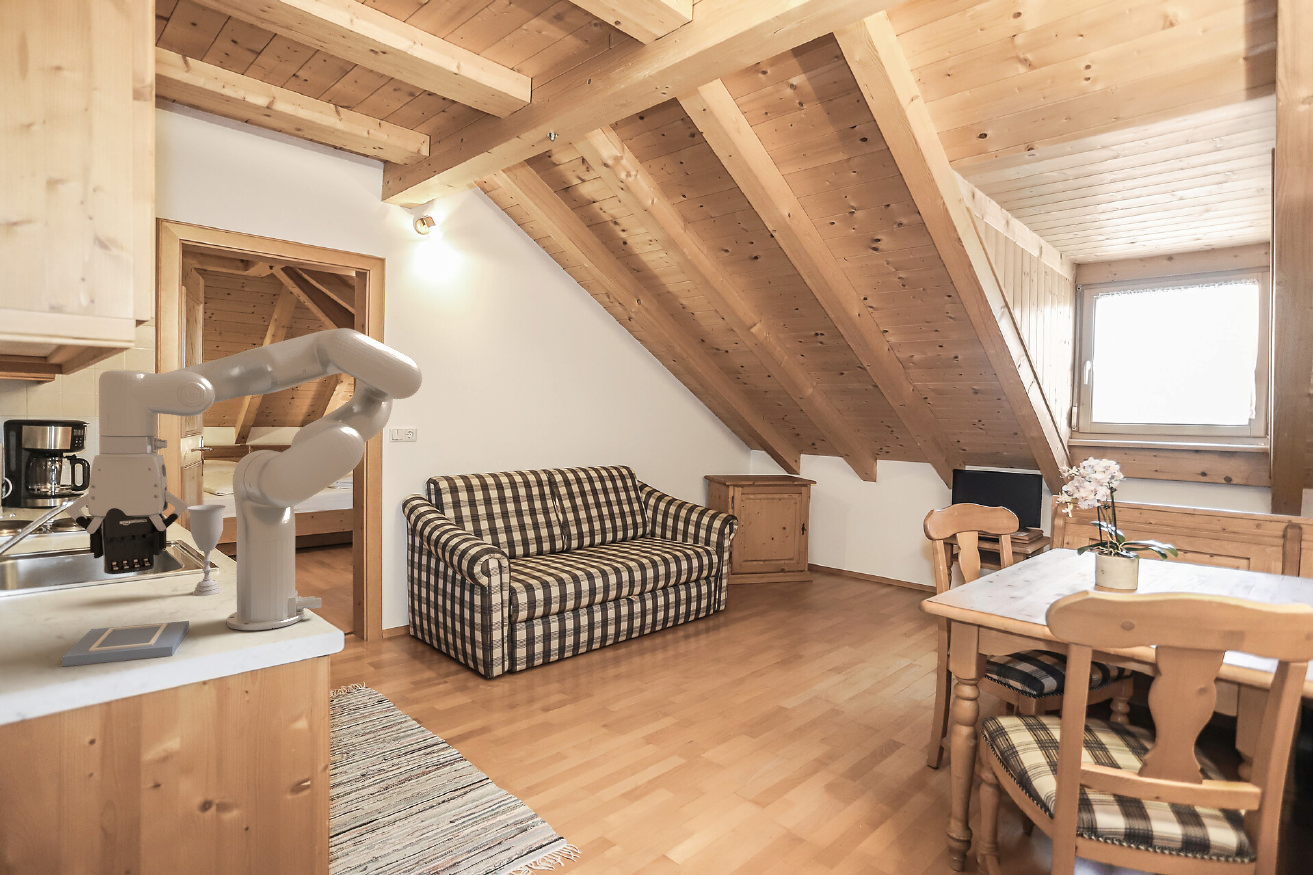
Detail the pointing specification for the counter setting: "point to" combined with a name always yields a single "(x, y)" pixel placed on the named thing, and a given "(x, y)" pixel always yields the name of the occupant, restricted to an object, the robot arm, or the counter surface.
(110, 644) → the grey flat square block
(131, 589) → the counter surface
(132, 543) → the battery charger
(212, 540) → the chalice
